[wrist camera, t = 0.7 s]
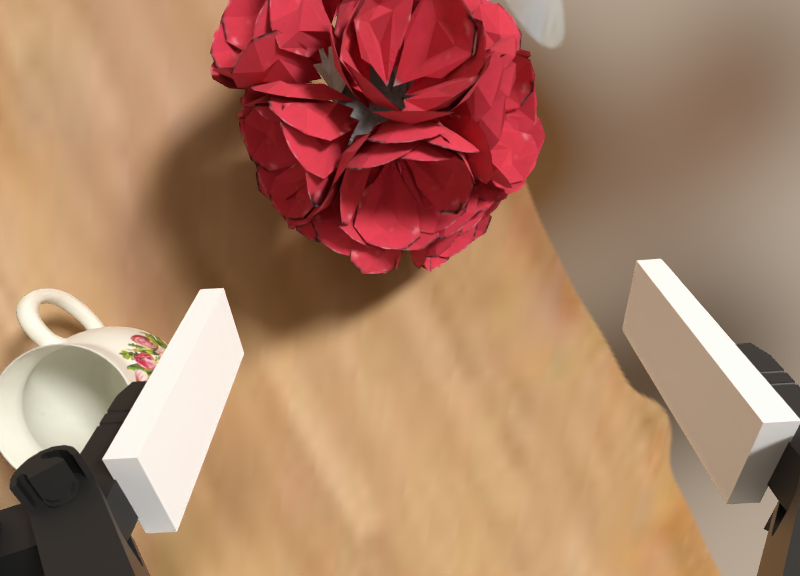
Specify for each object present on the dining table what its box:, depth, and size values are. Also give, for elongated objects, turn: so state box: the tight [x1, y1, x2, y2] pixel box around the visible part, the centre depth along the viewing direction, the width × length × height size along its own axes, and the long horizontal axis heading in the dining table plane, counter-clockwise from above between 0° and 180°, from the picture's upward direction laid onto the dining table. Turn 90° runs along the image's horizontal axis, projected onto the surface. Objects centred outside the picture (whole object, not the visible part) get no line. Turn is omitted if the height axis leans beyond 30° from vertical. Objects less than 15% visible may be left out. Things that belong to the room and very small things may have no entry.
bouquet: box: [210, 0, 545, 274], centre depth 40 cm, size 22×24×30 cm
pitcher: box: [0, 288, 168, 470], centre depth 43 cm, size 11×18×14 cm, turn 30°
